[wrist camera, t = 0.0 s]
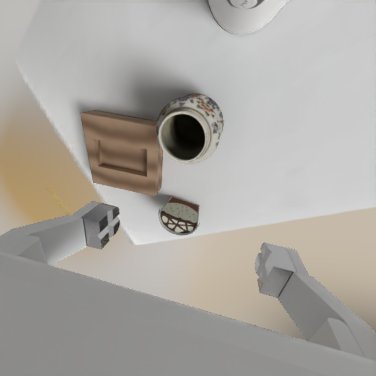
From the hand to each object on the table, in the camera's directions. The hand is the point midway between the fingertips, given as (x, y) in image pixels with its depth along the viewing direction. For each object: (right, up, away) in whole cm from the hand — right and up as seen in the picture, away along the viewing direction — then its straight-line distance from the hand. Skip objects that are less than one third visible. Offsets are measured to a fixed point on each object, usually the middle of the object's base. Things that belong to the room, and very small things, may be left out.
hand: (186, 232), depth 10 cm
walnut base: (-17, +13, +42) cm, 47 cm away
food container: (-1, -4, +49) cm, 49 cm away
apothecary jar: (+3, +20, +34) cm, 39 cm away
